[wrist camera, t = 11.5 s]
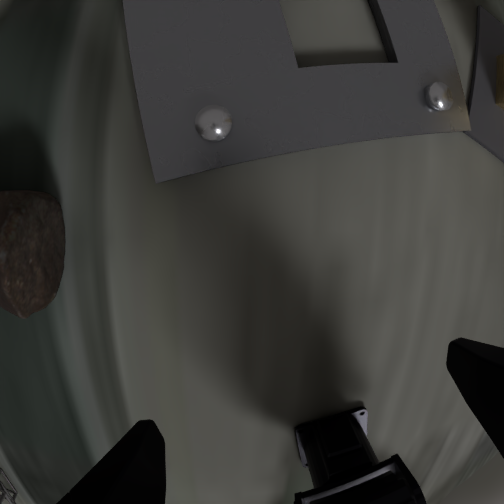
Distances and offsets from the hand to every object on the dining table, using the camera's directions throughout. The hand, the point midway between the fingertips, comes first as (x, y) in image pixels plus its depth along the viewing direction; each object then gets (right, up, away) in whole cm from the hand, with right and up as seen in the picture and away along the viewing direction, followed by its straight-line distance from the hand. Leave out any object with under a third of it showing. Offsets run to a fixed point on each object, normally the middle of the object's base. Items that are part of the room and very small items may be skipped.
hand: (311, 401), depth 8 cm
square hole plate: (+2, +19, +9) cm, 21 cm away
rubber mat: (+21, +18, +10) cm, 30 cm away
